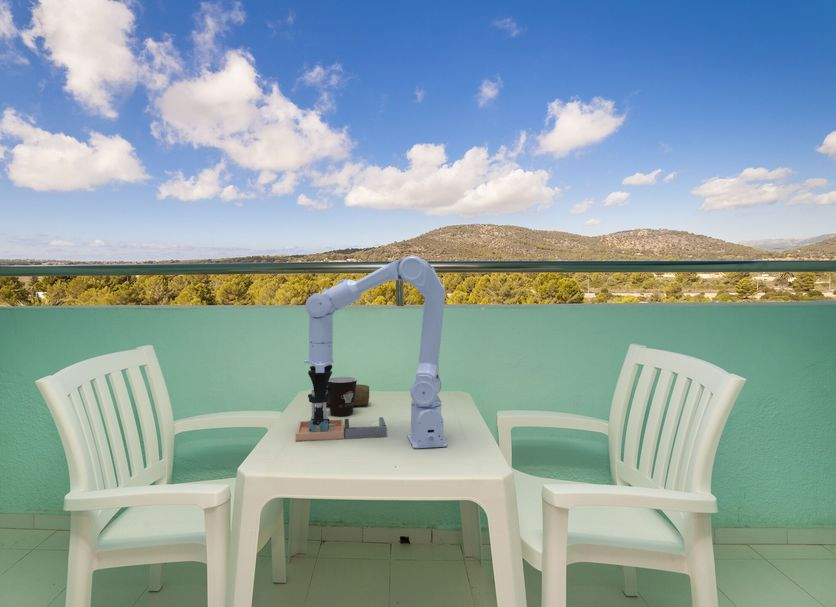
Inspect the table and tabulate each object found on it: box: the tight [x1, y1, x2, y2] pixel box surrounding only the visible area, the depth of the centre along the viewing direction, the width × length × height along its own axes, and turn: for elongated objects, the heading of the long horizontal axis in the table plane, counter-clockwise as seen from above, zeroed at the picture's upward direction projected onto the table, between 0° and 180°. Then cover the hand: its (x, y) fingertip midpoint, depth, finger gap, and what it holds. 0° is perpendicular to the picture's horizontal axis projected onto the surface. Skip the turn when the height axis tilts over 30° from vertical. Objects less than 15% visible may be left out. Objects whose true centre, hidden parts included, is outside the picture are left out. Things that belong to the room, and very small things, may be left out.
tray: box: [295, 419, 345, 442], centre depth 111 cm, size 10×11×2 cm
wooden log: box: [322, 384, 370, 407], centre depth 138 cm, size 15×7×7 cm, turn 100°
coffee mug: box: [326, 376, 358, 418], centre depth 129 cm, size 12×9×10 cm
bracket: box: [343, 416, 388, 440], centre depth 113 cm, size 8×10×2 cm
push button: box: [307, 389, 336, 432], centre depth 111 cm, size 7×5×10 cm
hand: (320, 396), depth 111 cm, fingers closed on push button, 5 cm apart
